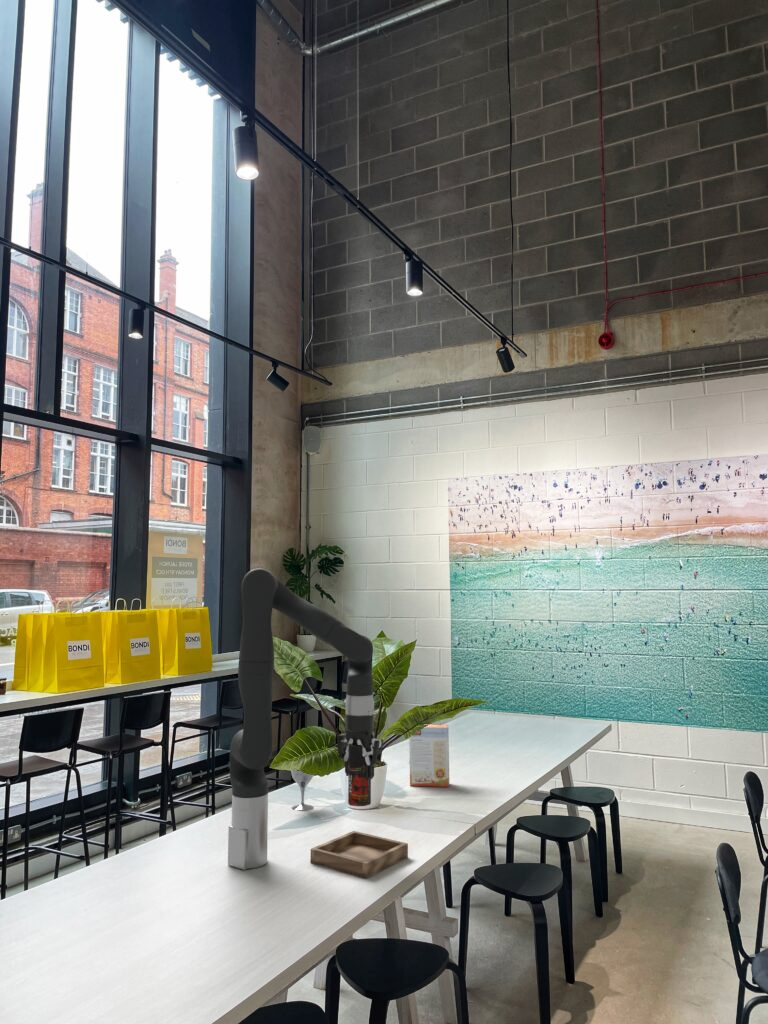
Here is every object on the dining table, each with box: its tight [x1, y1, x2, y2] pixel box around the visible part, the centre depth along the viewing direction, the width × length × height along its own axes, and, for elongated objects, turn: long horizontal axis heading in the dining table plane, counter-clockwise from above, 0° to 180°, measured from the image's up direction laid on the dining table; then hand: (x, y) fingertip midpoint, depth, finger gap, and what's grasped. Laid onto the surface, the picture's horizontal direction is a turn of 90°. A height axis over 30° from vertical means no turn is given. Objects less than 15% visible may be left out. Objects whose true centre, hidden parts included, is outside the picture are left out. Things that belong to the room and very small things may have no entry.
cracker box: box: [408, 724, 450, 788], centre depth 272 cm, size 14×6×21 cm, turn 82°
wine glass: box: [290, 769, 315, 812], centre depth 244 cm, size 8×8×15 cm
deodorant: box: [347, 744, 372, 807], centre depth 198 cm, size 6×6×15 cm
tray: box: [310, 830, 409, 879], centre depth 196 cm, size 18×18×4 cm
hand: (359, 777), depth 198 cm, fingers closed on deodorant, 6 cm apart
